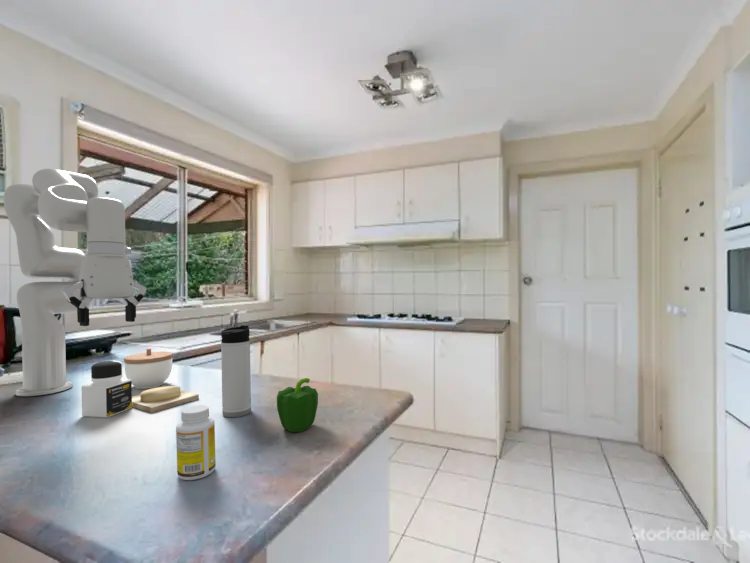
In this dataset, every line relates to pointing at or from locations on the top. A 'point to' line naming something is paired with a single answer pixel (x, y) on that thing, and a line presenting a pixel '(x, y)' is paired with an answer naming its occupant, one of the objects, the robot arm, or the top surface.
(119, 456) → the top surface
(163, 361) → the lidded bowl
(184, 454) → the supplement bottle
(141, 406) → the board
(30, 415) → the top surface
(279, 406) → the bell pepper
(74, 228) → the robot arm
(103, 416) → the medicine bottle
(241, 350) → the travel mug
